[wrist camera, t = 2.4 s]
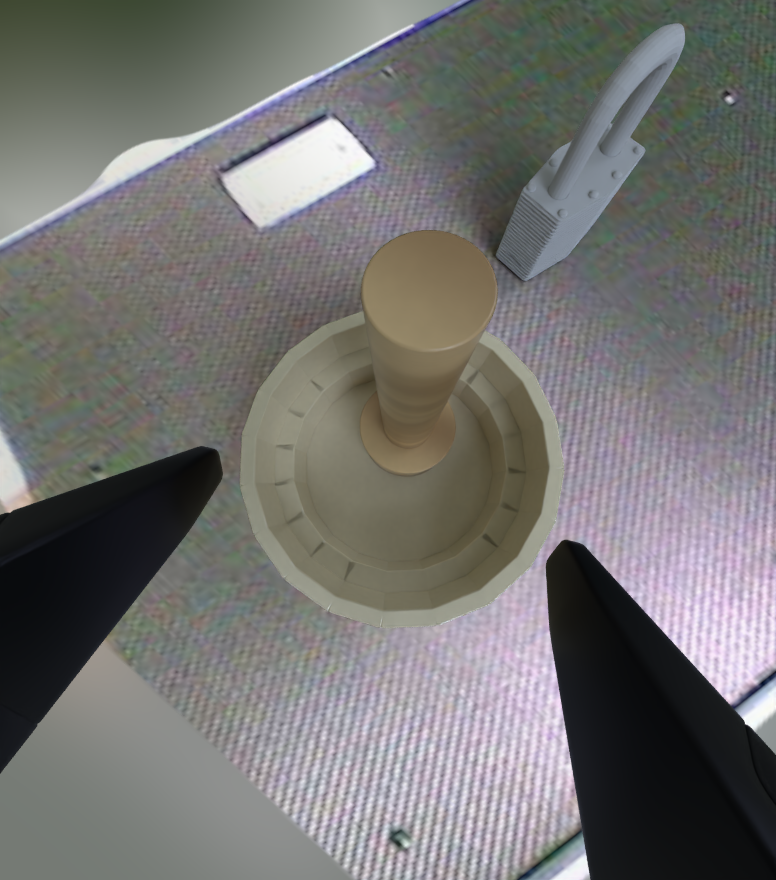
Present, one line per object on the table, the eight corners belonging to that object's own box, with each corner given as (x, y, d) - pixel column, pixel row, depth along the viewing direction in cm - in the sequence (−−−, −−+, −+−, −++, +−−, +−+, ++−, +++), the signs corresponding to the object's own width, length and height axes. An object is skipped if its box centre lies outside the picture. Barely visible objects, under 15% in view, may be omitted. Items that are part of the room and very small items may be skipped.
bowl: (436, 642, 17) (455, 707, 12) (237, 498, 19) (174, 499, 14) (557, 431, 19) (619, 405, 14) (367, 319, 21) (357, 258, 16)
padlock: (557, 195, 23) (680, -37, 13) (599, 229, 22) (763, 13, 12) (487, 252, 22) (562, 52, 12) (529, 290, 21) (644, 110, 11)
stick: (419, 493, 18) (479, 479, 5) (347, 446, 19) (236, 326, 6) (464, 421, 19) (618, 248, 6) (393, 378, 20) (388, 135, 7)
